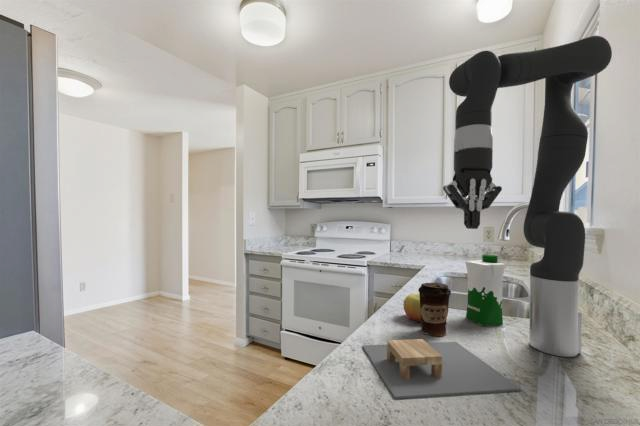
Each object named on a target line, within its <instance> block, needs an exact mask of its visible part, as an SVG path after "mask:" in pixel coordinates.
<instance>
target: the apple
mask: <svg viewBox="0 0 640 426" xmlns="http://www.w3.org/2000/svg"><path fill="white" fill-rule="evenodd" d="M403 310H404V312H405V315H406V316H407V317H408V318H409V319H411V320H412V321H415V322H419V323H421V311H420V295H419V293H411V294H409V295H407V296H406V297H405V299H404V300H403Z"/></svg>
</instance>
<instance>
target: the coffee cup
mask: <svg viewBox="0 0 640 426" xmlns="http://www.w3.org/2000/svg"><path fill="white" fill-rule="evenodd" d="M418 294H419V295H420V311H421V322H420V323H421V332H422V333H424V334H426V335H428V336H429V335H430V336H434V337H435V336H437V337H439V336H440V337H441V336H442V337H443V336H446V335H447V334H448V333H447V327H446V326H447V321H448V320H447V318H448V313H449V306H450V305H449V303H450V297H451V294H452V290H451V289H449V285H447V284H445V283H441V282H425V283H424V282H422V283H421V286H420V287H419V288H418Z"/></svg>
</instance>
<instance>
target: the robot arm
mask: <svg viewBox="0 0 640 426" xmlns="http://www.w3.org/2000/svg"><path fill="white" fill-rule="evenodd" d="M612 51H613V50H612V46H611V44H610V42H609V41H608V40H607V39H606V38H605V37H603V36H600V35H595V34H594V35H589V36H586V37H583V38H581V39H578V40H576V41H573V42H569V43H565V44H562V45H556V46H552V47H547V48H542V49H541V48H540V49H534V50H527V51H520V52H519V51H517V52H511V53H504V54H501V55H498V56H497V54H496V53H494V52H493V51H490V50H482V51H478V52H477V53H475V54H474V55H473V56H471V57H470V58H468V59H466V60H465V61H464V62H463V63H461V64H460V65H458V66H457V67H456V68H455V69H454V70H453V71H452V72H451V73H450V76H449V79H448V84H449V85H448V86H449V89H450V90H451V91H452V93H454V94H455V95H456V96H459V97H463V98H464V97H465V98H464V99H463V100H462V102H461V103H459V105H458V106H457V107H456V111H455V133H454V140H453V171H454V175H453V177H452V181H451V182H450V183H448V184H447V185H444V186H443V187H442V190H443V192H444V193H445V194H446V196H447V197H448V198H449V200H450V201H451V202H452V204H453V205H454V207H455V208H456V209H460V210H462V211H463V224H464V226H465V228H466V229H468V230H469V229H470V230H478V229H479V226H480V224H481V211H482V210H486V209H489V208H490V206H491V205H492V204H493V202H494V201H495V200H496V199H497V197H498V196H499V194H500V193H501V192H502V190H503V188H502V186H501V185H499V186H498V185H495V183H493V177H492V175H491V171H492V169H493V152H494V151H493V145H494V143H493V141H494V139H493V137H494V136H493V130H492V112H493V111H492V108H493V105H494V102H495V100H496V99H495V98H496V97H497V96H496V95H497V92H498V89H501V88H502V89H503V88H504V89H505V88H509V87H510V88H511V87H516V86H517V87H518V86H522V85H527V84H530V83H534V82H537V81H540V80H545V81H544V82H545V83H544V106H543V107H544V108H543V118H542V126H541V132H540V133H541V134H540V138H539V143H538V150H537V161H536V168H535V174H534V179H533V185H532V190H531V195H530V199H529V202H528V206H527V209H526V210H527V211H526V214H525V218H524V222H523V230H522V231H523V235H524V239H526V242H528V243H529V245H530V246H533V247H536V248H540V249H543V257H542V258H541V260H538V261H536V262H533V263H531V264H530V267H529V325H528V326H529V327H528V328H529V329H528V330H529V332H528V333H529V334H528V335H529V338H528V339H529V346H531V347H532V348H534V349H536V350H537V351H539V352H542V353H545V354H549V355H552V356H557V357H562V358H563V357H564V358H573V357H577V356H578V354H582V331H583V330H582V328H583V327H582V323H583V322H582V319H583V318H582V315H583V313H582V312H581V311H580V310H579V278H580V277H579V275H580V273H581V271H582V269H583V266H584V258H585V248H586V247H585V246H586V245H585V244H586V230H585V229H586V227H585V225H584V223H583V222H584V221H583V220H582V218H580V216H578V214H576V213H574V212H571V211H560V205H561V200H562V197H563V194H564V192H565V189H566V188H567V187H568V185H569V184H570V182H571V181H572V180H573V178H574V177H575V175H576V174H577V172H578V171H579V169H580V168H581V167H582V165H583V162H584V159H585V157H586V152H587V144H588V138H589V132H588V131H589V130H588V127H587V126H586V124H585V122H584V121H583V119H582V118H581V117H580V116H579V114H578V113H577V111H576V110H575V108H574V107H573V105H572V89H573V85H574V84H575V83H578V82H580V81H583V80H586V79H588V78H591V77H594V76H596V75H598V74H599V73H601V72H603V71H604V70H605V69H607V67H608V66H609V65H610V63H611V61H612V55H613V52H612Z"/></svg>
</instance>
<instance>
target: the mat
mask: <svg viewBox="0 0 640 426" xmlns="http://www.w3.org/2000/svg"><path fill="white" fill-rule="evenodd" d="M426 343H427V344H429V345H430V346H431V347H432V348H433V349H434V350H435V351H437V352H438V353H439V354H440V355H441V356H442V377H436V378H435V377H434V376H433V375H432V374H431V365H415V366H410V367H409V379H402V378H401V377H400V376H399V365H400V362H399V361H398V360H397V359H396V362H389V361H388V360H387V344H386V343H385V344H363V345H362V349H363V350H364V351H365V353H366V355H367V356H368V358H369V360H370V362H371V363H372V365H373V366H374V368H375V369H376V371H377V372H378V375H379V376H380V377H381V379H382V381H383V383H384V384H385V385H386V387H387V389H388V390H389V392H390V394H391V395H392V396H393V399H394V400H401V399H414V398H415V399H417V398H431V397H446V396H448V397H449V396H461V395H476V394H491V393H492V394H493V393H505V392H507V393H508V392H520V391H522V388H521V387H519V386H518V385H517V384H516V383H514V382H513V381H512V380H510V379H509V378H507V377H506V376H504V375H503V374H501V373H500V372H499V371H498V370H496V369H495V368H494V367H492V366H491V365H489V364H488V363H487V362H485V361H483V360H482V359H481V358H479V357H478V356H476V355H475V354H474V353H472V352H471V351H470V350H468V348H466V347H464V346H463V345H461V344H460V343H458V342H457V341H443V342H441V341H440V342H439V341H438V342H436V341H435V342H426Z"/></svg>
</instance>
